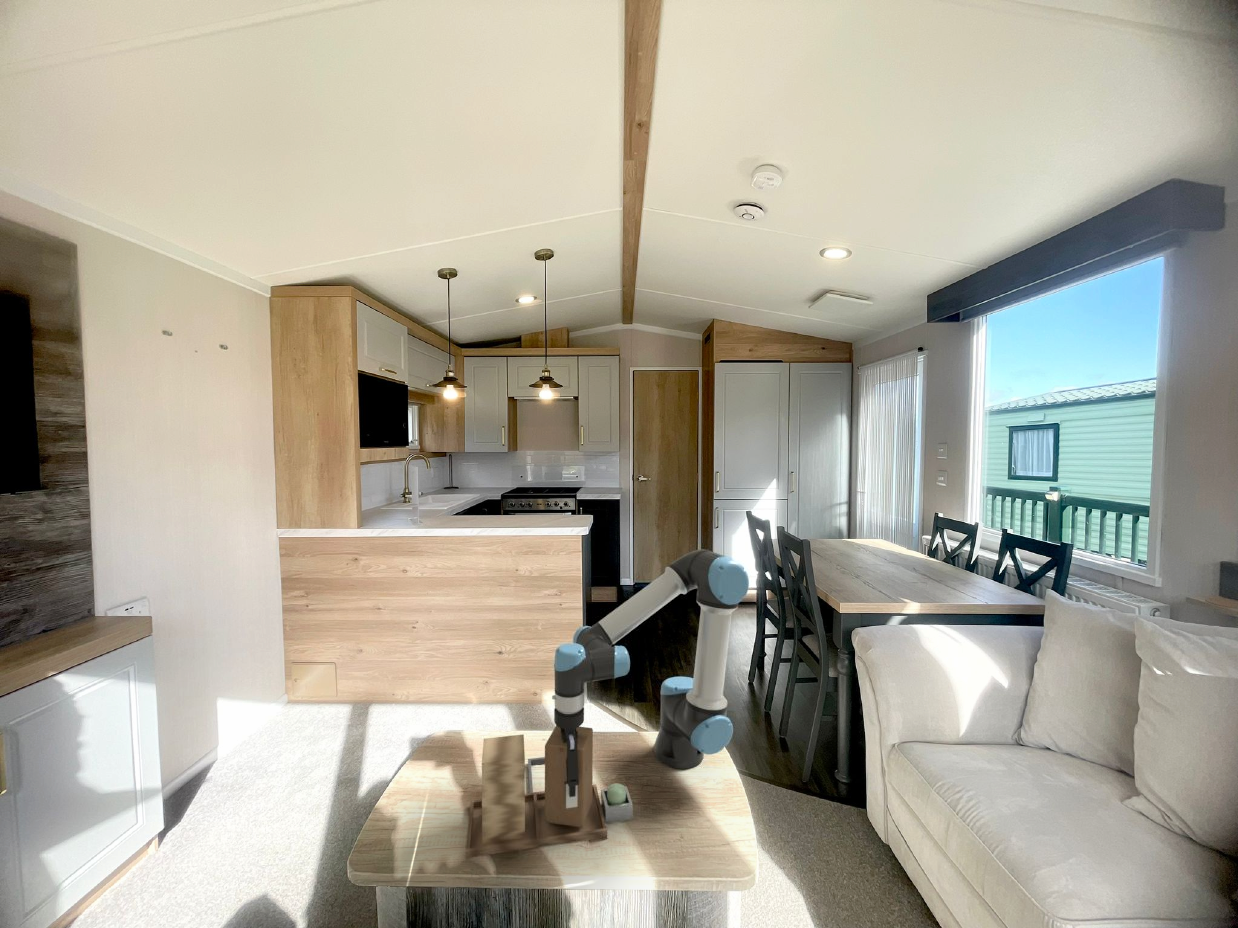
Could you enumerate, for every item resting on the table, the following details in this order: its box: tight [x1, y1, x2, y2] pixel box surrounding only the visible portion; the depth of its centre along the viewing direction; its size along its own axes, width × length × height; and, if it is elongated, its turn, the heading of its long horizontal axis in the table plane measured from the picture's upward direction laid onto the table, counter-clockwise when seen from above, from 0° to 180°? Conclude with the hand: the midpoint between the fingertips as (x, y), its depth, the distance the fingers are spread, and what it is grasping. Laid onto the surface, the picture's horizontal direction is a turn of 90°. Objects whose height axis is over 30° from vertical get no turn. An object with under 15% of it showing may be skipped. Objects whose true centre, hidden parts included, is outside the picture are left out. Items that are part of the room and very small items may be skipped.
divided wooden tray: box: [465, 783, 608, 859], centre depth 132 cm, size 33×17×2 cm, turn 102°
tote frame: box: [527, 756, 545, 793], centre depth 149 cm, size 16×16×2 cm
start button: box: [606, 782, 626, 806], centre depth 136 cm, size 5×5×4 cm
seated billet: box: [481, 734, 526, 844], centre depth 130 cm, size 10×10×20 cm
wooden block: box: [544, 724, 594, 828], centre depth 133 cm, size 10×10×20 cm
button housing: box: [600, 786, 634, 824], centre depth 136 cm, size 7×7×4 cm
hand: (568, 788), depth 133 cm, fingers open, 12 cm apart
